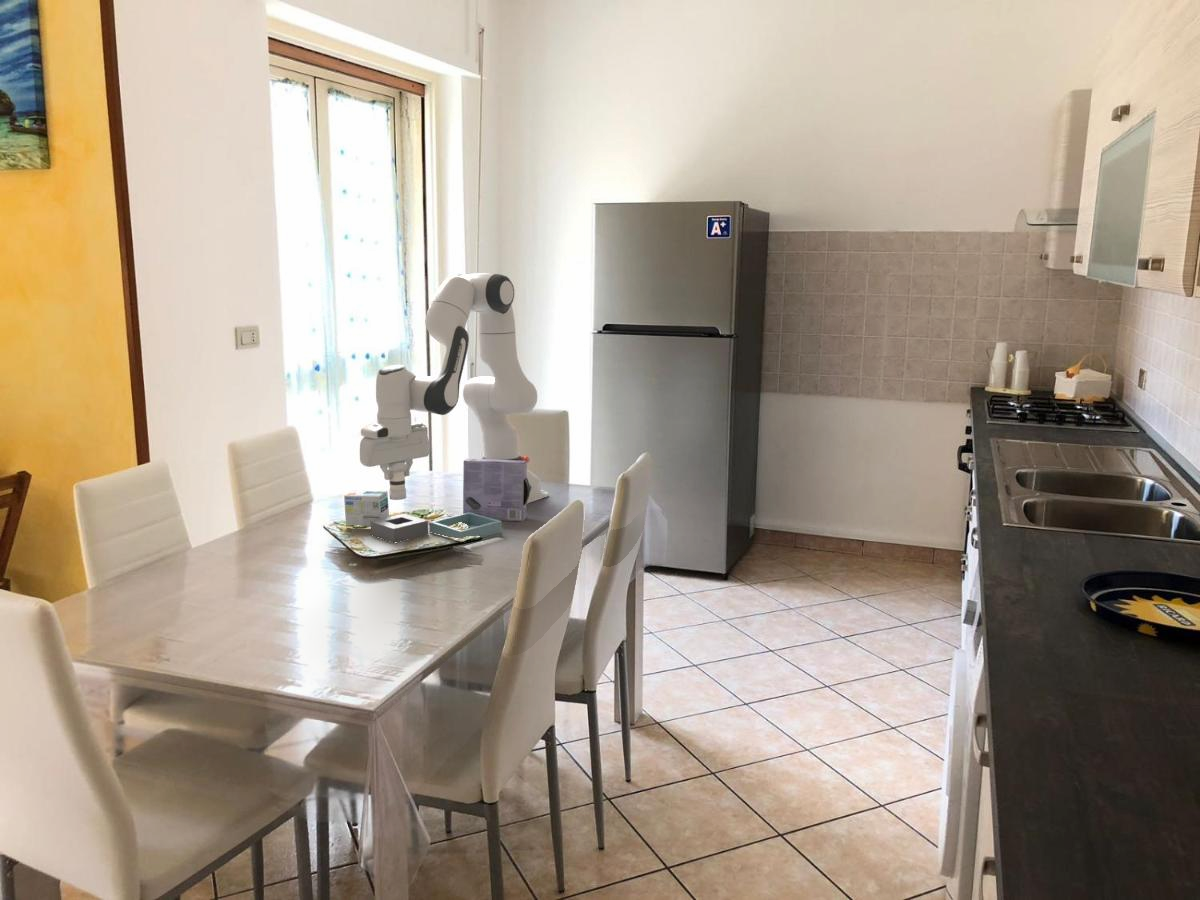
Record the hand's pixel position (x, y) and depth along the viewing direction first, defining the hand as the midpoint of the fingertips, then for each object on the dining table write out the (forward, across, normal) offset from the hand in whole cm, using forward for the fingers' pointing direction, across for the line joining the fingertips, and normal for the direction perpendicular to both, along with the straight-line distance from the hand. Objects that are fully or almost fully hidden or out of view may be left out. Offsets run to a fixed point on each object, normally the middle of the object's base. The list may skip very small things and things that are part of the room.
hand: (397, 477), depth 252 cm
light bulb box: (+17, +1, -14) cm, 22 cm away
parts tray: (+17, -14, +11) cm, 25 cm away
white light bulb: (+6, 0, 0) cm, 6 cm away
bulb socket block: (+17, 0, 0) cm, 17 cm away
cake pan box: (+17, -31, +4) cm, 36 cm away
